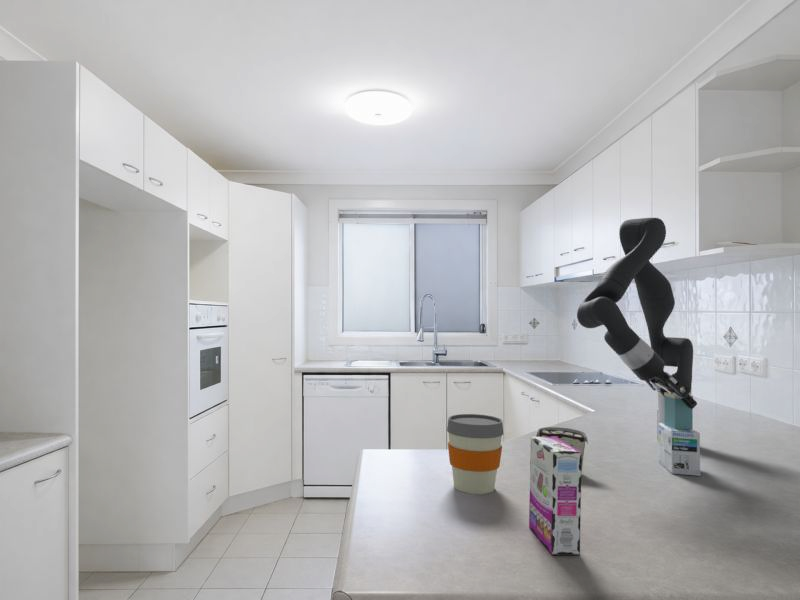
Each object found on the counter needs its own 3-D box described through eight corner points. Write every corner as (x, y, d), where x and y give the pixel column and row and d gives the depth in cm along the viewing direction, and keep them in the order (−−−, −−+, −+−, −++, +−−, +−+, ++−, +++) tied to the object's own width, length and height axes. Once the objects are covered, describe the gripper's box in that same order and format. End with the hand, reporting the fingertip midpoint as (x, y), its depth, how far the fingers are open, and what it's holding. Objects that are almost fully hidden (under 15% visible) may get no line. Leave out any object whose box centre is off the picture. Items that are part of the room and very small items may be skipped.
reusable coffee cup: (467, 500, 100) (468, 427, 101) (435, 482, 111) (436, 416, 112) (514, 492, 106) (515, 422, 107) (479, 475, 117) (480, 412, 118)
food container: (589, 469, 124) (589, 430, 124) (587, 476, 118) (588, 435, 118) (539, 462, 129) (540, 424, 129) (535, 469, 123) (536, 429, 124)
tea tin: (663, 425, 129) (663, 392, 129) (681, 425, 129) (681, 392, 129) (674, 429, 124) (674, 395, 124) (693, 429, 124) (693, 395, 124)
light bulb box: (701, 476, 120) (701, 432, 121) (671, 474, 122) (671, 430, 122) (685, 464, 131) (685, 423, 131) (657, 462, 132) (657, 422, 132)
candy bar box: (582, 556, 78) (583, 452, 78) (552, 556, 77) (553, 452, 78) (554, 526, 89) (555, 435, 89) (527, 526, 88) (529, 435, 89)
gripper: (666, 350, 120) (711, 397, 120) (636, 346, 134) (677, 389, 134) (644, 371, 120) (690, 419, 119) (617, 365, 134) (658, 408, 134)
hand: (683, 403), depth 127 cm, fingers open, 8 cm apart
